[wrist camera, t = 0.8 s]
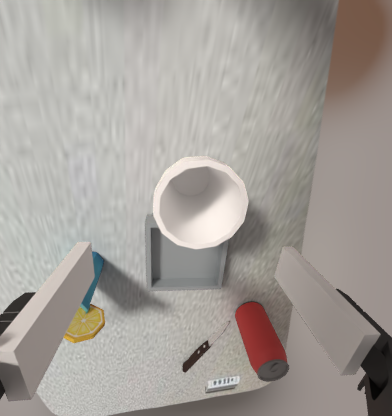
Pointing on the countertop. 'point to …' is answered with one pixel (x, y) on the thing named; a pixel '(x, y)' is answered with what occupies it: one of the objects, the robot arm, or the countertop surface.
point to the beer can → (261, 342)
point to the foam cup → (199, 202)
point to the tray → (181, 263)
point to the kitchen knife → (203, 348)
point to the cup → (87, 311)
